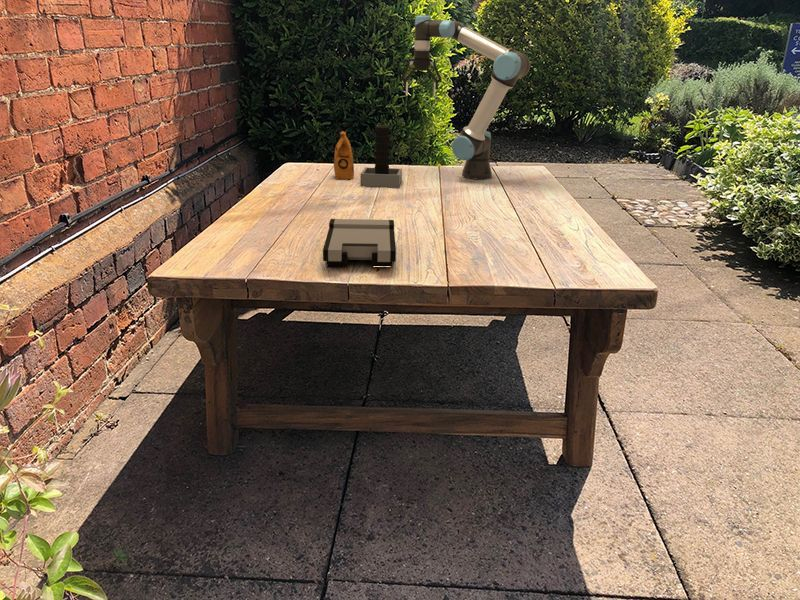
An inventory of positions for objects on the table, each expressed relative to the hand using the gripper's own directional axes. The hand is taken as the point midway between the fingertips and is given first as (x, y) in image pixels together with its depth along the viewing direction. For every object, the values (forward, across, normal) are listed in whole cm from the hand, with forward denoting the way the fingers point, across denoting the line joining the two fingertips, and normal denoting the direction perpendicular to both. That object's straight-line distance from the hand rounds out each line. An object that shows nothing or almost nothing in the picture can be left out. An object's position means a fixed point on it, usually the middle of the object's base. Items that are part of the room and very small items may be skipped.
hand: (420, 96), depth 333 cm
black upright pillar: (+38, +16, +28) cm, 50 cm away
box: (+39, +16, +28) cm, 50 cm away
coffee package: (+39, +36, +16) cm, 55 cm away
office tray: (+39, +11, +147) cm, 153 cm away
